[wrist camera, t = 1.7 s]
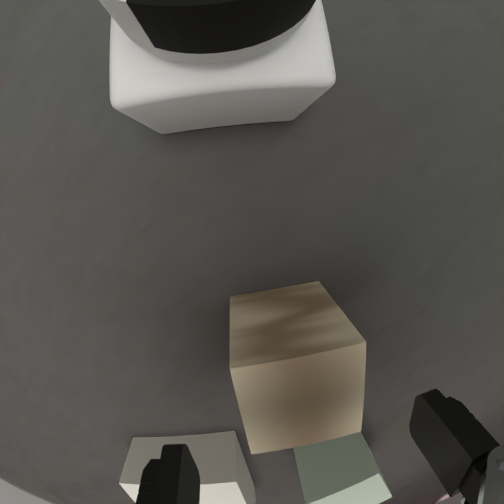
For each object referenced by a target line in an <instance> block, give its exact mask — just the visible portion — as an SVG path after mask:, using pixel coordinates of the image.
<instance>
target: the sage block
mask: <svg viewBox="0 0 504 504" xmlns="http://www.w3.org/2000/svg"><path fill="white" fill-rule="evenodd" d="M293 451H294V455H295V459H296V464H297V468H298V472H299V477H300V481H301V486H302V490H303V494H304V499H305V503H306V504H379V503H381V502H383V501H385V500H387V499H389V498H391V497H392V495H391V493H390V491H389V489H388V487H387V484H386V482H385V480H384V478H383V476H382V474H381V472H380V470H379V468H378V465H377V463H376V461H375V459H374V457H373V455H372V453H371V451H370V449H369V446H368V445H367V443H366V441H365V439H364V437H363V435H362V433H361V432H357V433H353V434H350V435H346V436H342V437H338V438H334V439H330V440H326V441H322V442H318V443H313V444H309V445H304V446H299V447H294V448H293Z"/></svg>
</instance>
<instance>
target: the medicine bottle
mask: <svg viewBox="0 0 504 504" xmlns="http://www.w3.org/2000/svg"><path fill="white" fill-rule="evenodd" d="M99 1H100V3H101V4H102V5H103V6H104V7H105V9H106V10H107V11H108V12H109V14H110V15H111V32H110V101H111V104H112V107H114V108H115V109H116V110H118V111H120V112H122V113H124V114H125V115H127V116H129V117H131V118H133V119H135V120H136V121H138V122H140V123H142V124H144V125H145V126H147V127H149V128H151V129H153V130H154V131H156V132H158V133H160V134H169V133H175V132H182V131H189V130H196V129H203V128H211V127H220V126H229V125H239V124H250V123H263V122H279V121H291V120H294V119H295V118H296V117H297V116H299V115H300V114H301V113H302V112H303V111H304V110H305V109H306V108H308V107H309V106H310V105H311V104H312V103H313V102H314V101H316V100H317V99H318V98H319V97H320V96H321V95H322V94H324V93H325V92H326V91H327V90H328V89H329V88H331V87H332V86H333V85H334V83H335V79H336V74H335V68H334V62H333V56H332V50H331V45H330V39H329V34H328V29H327V24H326V19H325V15H324V10H323V5H322V1H321V0H99Z"/></svg>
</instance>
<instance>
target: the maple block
mask: <svg viewBox="0 0 504 504" xmlns="http://www.w3.org/2000/svg"><path fill="white" fill-rule="evenodd" d="M365 369H366V341H365V340H364V338H363V337H362V336H361V334H360V333H359V332H358V330H357V329H356V328H355V327H354V325H353V324H352V323H351V321H350V320H349V319H348V318H347V316H346V315H345V314H344V312H343V311H342V310H341V309H340V307H339V306H338V305H337V303H336V302H335V301H334V300H333V298H332V297H331V296H330V295H329V293H328V292H327V291H326V289H325V288H324V287H323V286H322V284H321V283H320V282H319V281H316V282H311V283H305V284H300V285H294V286H288V287H283V288H277V289H271V290H265V291H259V292H253V293H247V294H241V295H234V296H230V373H231V377H232V381H233V385H234V389H235V393H236V397H237V401H238V405H239V409H240V413H241V417H242V421H243V425H244V429H245V432H246V436H247V440H248V444H249V447H250V451H251V454H257V453H264V452H270V451H277V450H283V449H288V448H294V447H299V446H304V445H309V444H313V443H318V442H322V441H326V440H330V439H334V438H338V437H342V436H346V435H350V434H353V433H357V432H360V431H361V428H362V417H363V404H364V389H365Z"/></svg>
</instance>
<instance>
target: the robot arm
mask: <svg viewBox="0 0 504 504" xmlns="http://www.w3.org/2000/svg"><path fill="white" fill-rule="evenodd" d="M410 433H411V436H412V438H413V439H414V441H415V443H416V444H417V446H418V447H419V449H420V450H421V452H422V453H423V455H424V456H425V458H426V460H427V461H428V463H429V464H430V466H431V467H432V469H433V470H434V472H435V474H436V475H437V477H438V478H439V480H440V482H441V483H442V485H443V486H444V488H445V489H446V491H447V493H448V494H449V496H450V497H452V496H454V495H456V494H458V493H460V492H461V493H462V495H463V498H462V501H461V504H504V445H500V444H498V443H497V442H496V440H495V439H494V438H493V437H492V436H491V435H490V434H489V432H488V431H487V430H486V429H485V428H484V427H483V426H482V425H481V423H480V422H479V421H478V420H477V419H475V417H474V416H473V415H472V413H469V410H468V409H467V408H466V407H465V406H464V405H463V404H462V403H461V402H460V401H458V400H456V399H454V398H452V397H448V398H445V397H444V396H443V395H442V393H441V392H440V391H439V390H437V389H433V390H430V391H428V392H425V393H423V394H420V395H418V396H417V397H416V398H415V402H414V407H413V411H412V416H411V420H410ZM140 483H141V484H140V485H139V490H138V493H139V494H138V495H137V499H136V504H199V502H200V475H199V471H198V468H197V466H196V463H195V461H194V459H193V457H192V455H191V453H190V450H189V448H188V446H187V445H186V444H164V445H163V447H162V451H161V457H160V459H151V460H150V461H149V462H148V464H147V465H146V466H145V468H144V469H143V472H142V476H141V481H140Z"/></svg>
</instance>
